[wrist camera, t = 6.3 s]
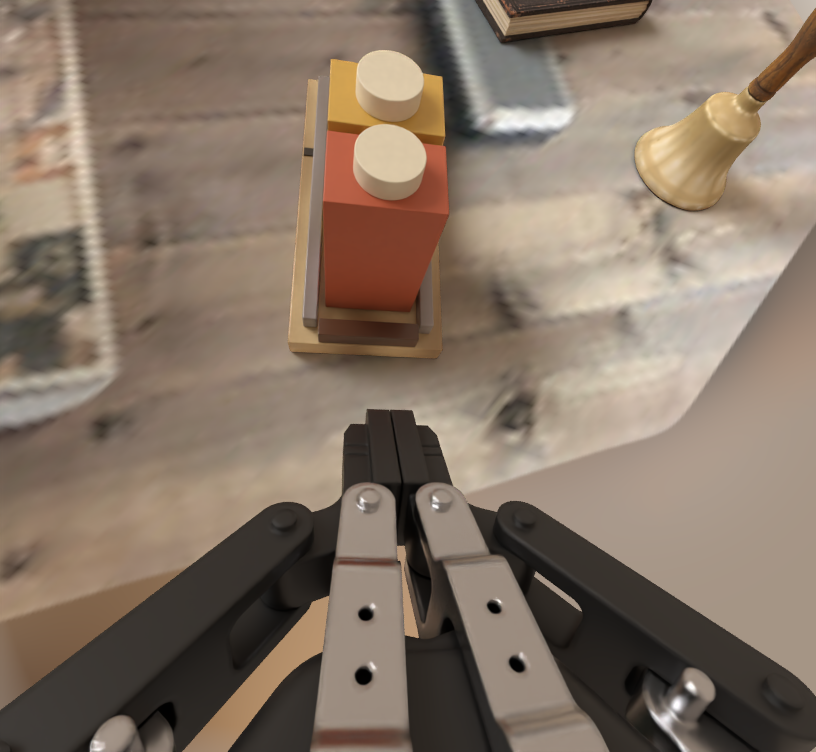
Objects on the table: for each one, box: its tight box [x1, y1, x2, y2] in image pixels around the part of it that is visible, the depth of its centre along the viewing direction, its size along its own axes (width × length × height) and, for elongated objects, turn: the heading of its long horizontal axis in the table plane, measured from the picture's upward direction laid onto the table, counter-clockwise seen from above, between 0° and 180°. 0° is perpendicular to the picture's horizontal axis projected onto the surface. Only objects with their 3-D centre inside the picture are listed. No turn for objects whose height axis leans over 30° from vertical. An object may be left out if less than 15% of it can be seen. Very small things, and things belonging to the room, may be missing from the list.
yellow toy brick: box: [328, 50, 445, 146], centre depth 22 cm, size 5×4×10 cm
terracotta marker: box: [323, 124, 449, 312], centre depth 21 cm, size 5×4×10 cm
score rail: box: [288, 75, 443, 358], centre depth 28 cm, size 9×20×3 cm, turn 1°
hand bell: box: [635, 8, 816, 210], centre depth 28 cm, size 8×8×16 cm
